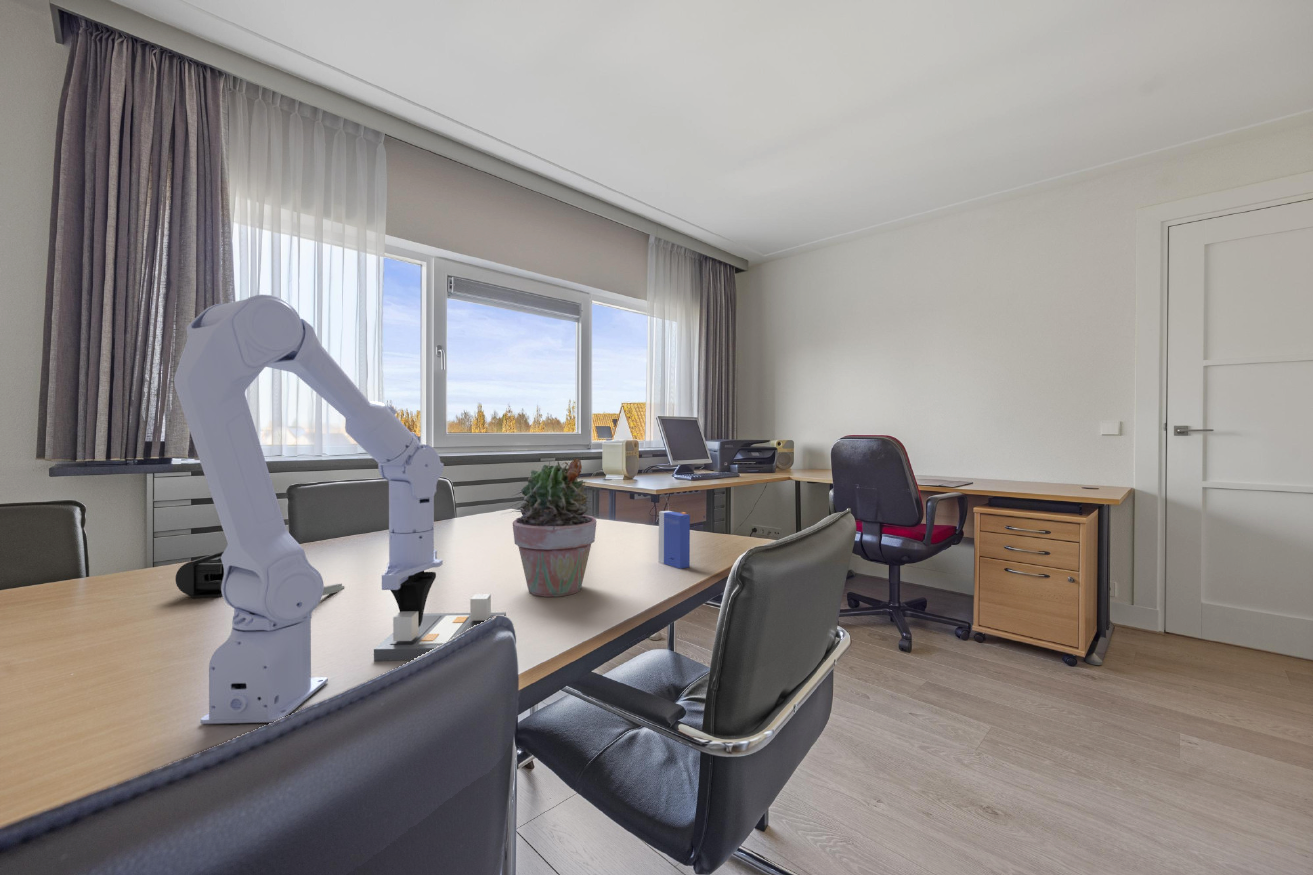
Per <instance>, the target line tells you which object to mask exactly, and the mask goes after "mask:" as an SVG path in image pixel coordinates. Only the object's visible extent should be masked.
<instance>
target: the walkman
mask: <svg viewBox="0 0 1313 875" xmlns="http://www.w3.org/2000/svg"><path fill="white" fill-rule="evenodd" d="M690 534H691V515H690V514H688V513H687V512H684V511H681V512H677V511H671V510H661V511H658V563H661V564H663V565H667V566H670V567H673V568H676V569H680V570H681V569H687V568H690V564H691V562H690V560H691V559H690V558H691V557H690V554H691V552H690V551H691V550H690V549H691V546H690V545H691V543H690V542H691V538H690V537H691V535H690Z"/></svg>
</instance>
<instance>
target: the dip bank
mask: <svg viewBox="0 0 1313 875" xmlns="http://www.w3.org/2000/svg"><path fill="white" fill-rule="evenodd" d="M496 615H504V616H506V617H507V612H503V611H502V612H491V615H490V617H489V618H492V617H493V616H496ZM489 618H488V619H489ZM488 619H487V620H488ZM484 621H485V620H477V621H470V612H442V613H441V612H440V613H438V612H435V613H433V612H431V613H424V612H423V618H422V622H421V626H419V627H418V635H417V636H416V637H415V638H414V639H413V640H412V641H393V632H392V633H390V634H389V636H387V637H386V638H385V639H384V640H383V641H381V643H379V644H378V645H376V647H375V648H374V649H373V661H375V662H376V661H379V662H380V661H381V662H382V661H413V660H412V659H414V658H417V657H418V656H421V655H422V654H425V653H426V652H429V651H430V650H432V649H434V648H436V647H437V646H440V645H442V644H443V643H446V641H449V640H450V639H452V638H453V637H456V636H457V635H459V634H461V633H463V632H465V631H466V630H467V629H469V628H471V627H473V626H474V625H477V624H480V623H481V622H484Z"/></svg>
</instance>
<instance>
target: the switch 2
mask: <svg viewBox="0 0 1313 875" xmlns="http://www.w3.org/2000/svg"><path fill="white" fill-rule="evenodd" d="M491 599H492V594H491V593H485V594H484V593H475V594H474V595H472V596H471V598H470V600H469V602H470V603H469V604H470V606H469V607H470V612H469V613H470V621H477V620H487V619H488V618H489V617H490V615H491V613H492V603H491V602H492V600H491Z"/></svg>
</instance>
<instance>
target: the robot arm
mask: <svg viewBox="0 0 1313 875" xmlns="http://www.w3.org/2000/svg"><path fill="white" fill-rule="evenodd" d="M186 334H187V339H186V342H185V345H184V348H183V352H182V354H181V357H180V359H179V362H178V366H177V368H176V371H175V374H174V377H173V382H174V389H175V391H176V394H177V397H178V400H179V402H180V406H181V409H182V412H183V415H184V418H185V422H186V425H187V428H188V430H189V433H190V436H191V439H192V442H193V445H194V447H195V448H194V449H195V450H196V454H197V457H198V459H199V463H200V466H201V469H202V472H203V474H204V478H205V480H206V481H205V482H206V483H207V487H208V488H209V493H210V495H211V498H212V501H213V504H214V507H215V510H216V514H217V516H218V518H219V522H220V525H221V528H222V530H223V534H224V536H225V539H226V542H227V545H226V548H225V549H224V550H225V551H224V550H223V551H224V552H223V554H222V556H221V560H222V563H223V567H224V577H223V581H222V585H221V592H222V596H223V601H224V602H225V603H226V604H227V606H228V605H229V606H228V607H231V608H233V616H232V619H231V620H232V621H231V622H232V623H231V625H232V628H231V632H230V635H229V636H228V638H227V639H226V641H225V642H223V643H222V644H221V645H220V646H218V647H217V649H216V650H215V651H214V652H213V654H212V655H211V658H210V660H209V664H208V713H207V714H205V715H204V716H202V717H201V718H200V724H202V725H208V724H209V725H211V724H214V725H215V724H216V725H218V724H254V723H258V724H260V723H261V724H263V723H273V722H272V721H276V720H278V719H280V718H282V717H285V716H286V715H287V716H288V715H289V714H291V713H292V712H294V711H295V710H296V709H297V708H298V707H299V706H300V705H302V704H303V703H304V702H305V701H306V700H307V699H309V698H310V697H311V696H312V695H313V694H314V693H316V692H317V691H319V689H320V688H322V687H323V686H324V685H325V684H326V683H328V682H329V681H328V677H325V676H323V677H322V676H321V677H315V676H314V677H312V615H313V614H312V613H313V611H314V610H315V609H316V608H317V606H318V605H319V604H320V602H321V599H322V598H323V596H324V595H323V590H324V586H325V585H324V584H325V583H324V579H323V576H322V575H321V572H320V571H318V569H317V568H316V567H314V566H313V565H312V564H311V563H310V562H309V560H308V558H307V556H306V553H305V552H306V551H305V550H304V548H303V547H302V546H301V545H300V543H299V542H298V541H297V540H296V539H295V538H294V537H293V536H292V535H291V533H289V531H288V529H287V527H286V524H285V520H284V517H283V514H282V510H281V508H280V504H279V501H278V498H277V495H276V491H275V487H274V484H273V481H272V478H271V474H270V471H269V469H268V465H267V462H266V459H265V455H264V452H263V449H262V446H261V443H260V438H259V436H258V432H257V430H256V426H255V422H254V420H253V416H252V414H251V413H252V412H251V410H250V407H249V403H248V400H247V397H246V391H247V389H248V388H249V386H251V384H252V383H253V382H254V381H255V379H257V377H259V375H260V373H262V372H263V370H264V369H266V368H270V369H275V370H279V371H284V372H289V373H293V374H294V375H296V376H297V377H298V378H299V379H300V380H302V382H304V383H305V384H306V385H307V386H309V387H310V388H311V389H312V390H313V391H314V392H315V393H316V394H317V395H319V396H320V398H323V400H324V401H325V402H327V403H328V404H329V406H331V407H332V408H334V409H335V411H337V412H338V413H339V414H340V415H341V416H343V417H344V418H345V423H344V424H345V426H344V428H345V433H346V434H347V435H349V437H350V438H352V440H353V441H354V442H355V443H356V444H358V446H359V447H360V448H362V449H363V450H364V451H365V452H366V453H367V454H368V455H369V456H370V457H371V458H372V459H373V460H375V461H376V462H377V465H378V466H377V467H378V472H379V473H378V474H379V475H380V477H381V478H382V479H383V480H386V481H387V482H388V548H389V549H388V563H387V565H386V569H385V572H384V573H382V575H381V590H382V591H390V592H391V593H392V596H393V597H394V599H395V602H396V604H397V606H398V610H399V612H401V611H418V627H419V626H421V622H422V618H423V613H424V612H425V607H426V602H427V600H428V595H429V593H430V590H431V588H432V585H433V583H434V582H435V580H436V577H437V573H436V572H434V571H426V570H430V569H432V568H439V567H441V566H443V564H444V561H443V559H442V558H441V559H438V549H435V532H434V529H435V522H434V521H435V505H434V504H435V503H434V502H435V494H436V493H437V484H438V481H439V480H440V478H441V476H442V474H443V470H444V465H445V464H444V462H441V458H440V455H439V453H438V452H437V450H435V449H434V448H433V447H432V446H430V445H429V444H421V443H420V440H419V437H418V434H417V433H415V432H414V431H413V432H411V431H410V430H409V429H408V428H407V426H406V425H405V423H403V422H402V420H400V418H398V417H397V416H396V414H397V413H398V412H397V409H395V408H394V407H393V406H392V405H386V404H385V403H383V402H382V401H369V400H368V398H367V397H366V396H365V395H364V394H363V392H362V391H361V390H360V389H359V388H358V386H356V384H355V383H354V382H353V381H352V380H351V378H350V377H349V376H348V375H347V374H346V373H345V371H344V370H343V369H342V367H340V365H339V364H338V363H337V362H336V361H335V359H334V358H333V357H332V356H331V355H330V354H329V352H328V351H327V350H326V348H325V347H323V345H322V344H321V343H320V341H319V339H318V336H317V334H316V331H315V329H314V327H313V326H312V325H311V324H310V323H309V322H308V321H307V320H305V319H304V318H301V317H300V315H299V313H298V312H297V310H296V309H295V308H294V307H293V306H292V305H291V304H290V303H289V302H287V301H286V300H284V299H282V298H281V297H278V296H275V295H271V294H256V295H252V296H250V297H248V298H246V299H241V300H236V301H233V302H227V303H226V302H224V303H217V304H214V305H211V306H209V307H207V308H205V309H204V310H203V311H201V313H200V314H199V315H197V316H196V317H195V318H194V319H193V320H192V321H191V322H190V323H188V325H186ZM322 595H323V596H322ZM287 716H286V717H287ZM286 717H285V718H286Z"/></svg>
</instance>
